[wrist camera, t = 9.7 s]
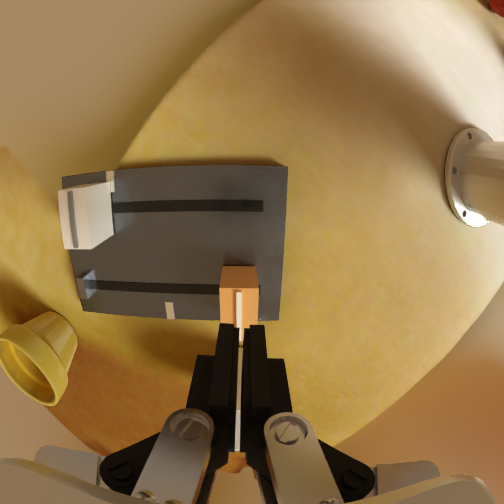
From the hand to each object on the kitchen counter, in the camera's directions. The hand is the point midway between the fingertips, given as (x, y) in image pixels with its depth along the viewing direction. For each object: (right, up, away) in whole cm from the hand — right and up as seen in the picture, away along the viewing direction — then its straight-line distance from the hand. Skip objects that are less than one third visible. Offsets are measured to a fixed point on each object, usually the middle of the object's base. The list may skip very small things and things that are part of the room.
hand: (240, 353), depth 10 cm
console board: (-8, +5, +16) cm, 18 cm away
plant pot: (-26, -7, +19) cm, 33 cm away
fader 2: (-1, 0, +16) cm, 16 cm away
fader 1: (-14, +8, +12) cm, 20 cm away
